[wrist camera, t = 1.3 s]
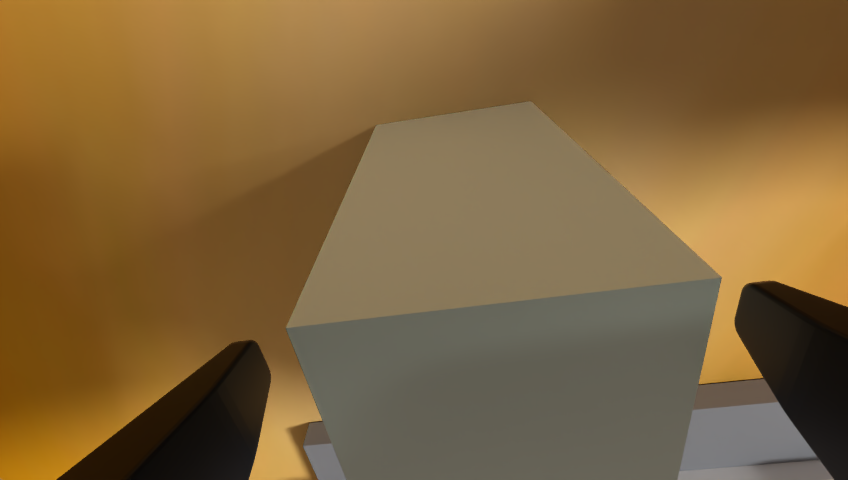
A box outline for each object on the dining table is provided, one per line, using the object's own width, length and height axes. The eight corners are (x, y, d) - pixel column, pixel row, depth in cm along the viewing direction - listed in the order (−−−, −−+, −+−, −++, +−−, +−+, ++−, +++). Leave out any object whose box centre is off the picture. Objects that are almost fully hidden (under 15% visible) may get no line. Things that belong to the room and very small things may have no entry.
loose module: (530, 101, 11) (722, 277, 4) (537, 292, 14) (651, 595, 7) (376, 124, 11) (285, 328, 4) (413, 306, 14) (398, 610, 7)
